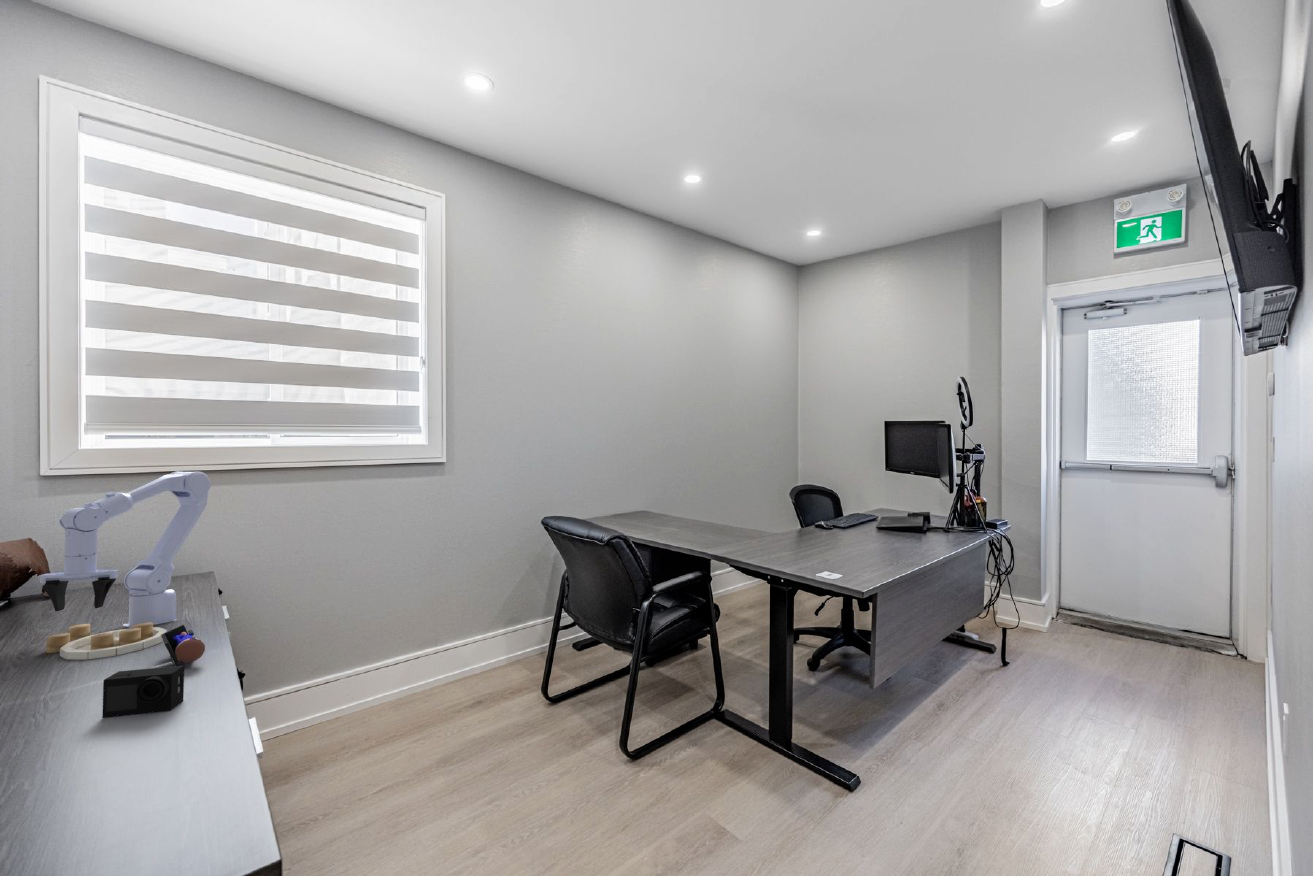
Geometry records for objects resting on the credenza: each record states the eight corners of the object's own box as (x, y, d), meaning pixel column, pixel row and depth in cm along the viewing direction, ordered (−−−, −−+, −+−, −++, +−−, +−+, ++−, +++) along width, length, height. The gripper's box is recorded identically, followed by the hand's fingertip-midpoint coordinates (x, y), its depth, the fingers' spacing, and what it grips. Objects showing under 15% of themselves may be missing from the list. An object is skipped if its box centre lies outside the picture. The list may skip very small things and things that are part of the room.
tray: (148, 631, 145) (149, 623, 145) (177, 643, 136) (177, 634, 137) (50, 652, 130) (50, 643, 130) (76, 667, 121) (76, 657, 121)
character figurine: (197, 652, 131) (204, 669, 121) (156, 657, 126) (160, 676, 116) (201, 619, 132) (208, 633, 121) (160, 623, 127) (164, 639, 116)
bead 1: (66, 648, 133) (67, 632, 133) (71, 651, 131) (72, 634, 131) (43, 653, 129) (44, 636, 129) (48, 656, 127) (49, 639, 128)
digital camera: (96, 722, 96) (97, 682, 96) (117, 708, 101) (118, 670, 102) (166, 714, 99) (167, 675, 99) (183, 701, 104) (184, 664, 105)
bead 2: (86, 638, 140) (87, 623, 140) (92, 641, 138) (92, 625, 138) (65, 643, 137) (66, 627, 137) (70, 645, 135) (71, 629, 135)
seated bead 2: (137, 643, 134) (137, 627, 135) (143, 646, 133) (143, 629, 133) (116, 648, 131) (116, 631, 131) (122, 650, 129) (122, 634, 129)
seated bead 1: (109, 648, 131) (110, 631, 131) (115, 651, 129) (116, 634, 129) (87, 653, 128) (88, 636, 128) (93, 656, 126) (94, 638, 126)
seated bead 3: (149, 637, 139) (149, 621, 139) (155, 639, 137) (155, 623, 137) (129, 641, 136) (129, 625, 136) (135, 644, 134) (135, 628, 134)
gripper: (31, 559, 132) (29, 616, 131) (107, 555, 137) (106, 610, 136) (51, 554, 138) (50, 608, 138) (124, 551, 143) (122, 602, 143)
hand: (79, 608), depth 138 cm, fingers open, 7 cm apart
